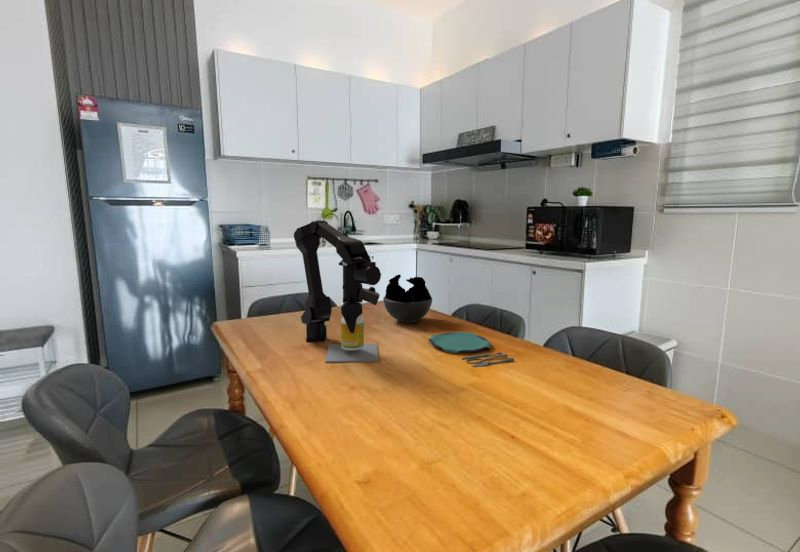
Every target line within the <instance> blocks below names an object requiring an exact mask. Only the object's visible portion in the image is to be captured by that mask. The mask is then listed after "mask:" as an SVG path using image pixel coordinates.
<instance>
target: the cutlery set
mask: <svg viewBox="0 0 800 552" xmlns="http://www.w3.org/2000/svg"><path fill="white" fill-rule="evenodd" d="M428 341H429V342H430V343H431V345H432V346H433V347H435V348H437V349H439V350H443V351H444V352H446V353H448V354H449V353H450V354H455V355H456V354H457V353H463V354H464V353H466V354H467V353H476V352H480V351H483V350H485V349H487V348H488V349H489V350H490V349H491V347H492V342H491V341H490V340H488V339H487V338H485V337H483V336H481V335H477V334H476V333H473V332H467V331H456V332H454V331H453V332H444V333H436V334H433V335H432V336H431V337H429V338H428ZM492 355H494V356H492ZM488 356H490V357H488ZM484 357H486V358H484ZM507 357H508V354H507V353H503V354H502V351H499V352H496V353H494V352H493V353H481V354H479V355H469V356H464V357H461V360H466V361H465V362H466V363H468V364H471V367H473V368H481V367H488V366H490V365H497V364H504V362H505V363H508V362H509V361H510V362H514V361H515V358H514V357H510V358H509V357H508V358H507ZM499 358H506V359H501V360H496V361H490V360H493V359H499ZM472 361H475V362H472ZM483 361H484V362H483Z"/></svg>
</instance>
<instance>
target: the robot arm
mask: <svg viewBox="0 0 800 552" xmlns="http://www.w3.org/2000/svg"><path fill="white" fill-rule="evenodd" d="M293 239H294V242H295V246H296V248H297V249H298V250H299V252H300V253H301V254H302V260H303V266H304V272H305V278H306V286H307V292H308V296H307V299H306V301H305V310H304V311H303V313H302V314H301V316H300V319H301V323H302V324H304V325H305V326H306V328H305V329H306V339H305V342H307V343H308V342H309V343H310V342H325V341H326V339H327V338H328V325H327V324H326V322H330V319H331V315H332V310H333V307H332V304H331V298H330V296H327V295H326V294H325V293H324V288H323V282H322V278H321V277H322V276H321V269H320V264H319V263H320V262H319V256H318V250H319V247H320V245H321V239H323V240H324V241H326V242H327V243H329V244H330V245H332V246H333V247H334V248H335V252H336V253H337V255H338V256H339V257H340V258H341V261H339V262H338V266H342V304H341V306H340V307H341V308H340V309H341V311H340V314H341V315H342V317H344V319H345V322H346V324H347V326H348V329H349V331H350V333H354V330H355V325H356V321H357V317H359V316H362V314H363V304H362V303H363V302H367V303H370V304H372V305H374V306H377V304H378V302H379V299H380V293H379V292H378V291H377V292H376V287H374V286H376V285H377V284H378V283H379V282H380V281H381V277H382V273H381V269H380V268H379V267H378V266H377V262H375V261H372V260H371V258H370V257H371V256H370V255H369V253H368V251H367V249H366V247H365V244H364V242H363V241H362V240H360V239H358V238H354V237H351V236H350V237H349V236H347V235H345V234H343V233H342V232H340V231H339V230H338V229H336V228H335V227H333V226H332V225H331V224H329V222H328V221H326V220H323V219H321V220H320V219H316V220H313V221H310V223H307V224H305V225H302V226H300V227H298V228H296V230H294V233H293ZM363 284H364V285H369V288H364V287H363Z"/></svg>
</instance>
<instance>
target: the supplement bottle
mask: <svg viewBox="0 0 800 552" xmlns="http://www.w3.org/2000/svg"><path fill="white" fill-rule="evenodd" d="M364 319H365V318H364V317H363V316H362V315H360V316H359V317H357V321H356V325H355V330H354V333H350V331H349V329H348V326H347V324H346V322H345V319H344V317H343V316H342V317H341V319H340V331H341V332H340V341H341V342H340V344H341V347H342V348H343V349H345V350H350V351H353V350H360V349H362V348H363V347H364V344H365V336H364V335H365V327H364V324H365V321H364Z"/></svg>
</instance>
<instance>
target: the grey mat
mask: <svg viewBox="0 0 800 552" xmlns="http://www.w3.org/2000/svg"><path fill="white" fill-rule="evenodd" d="M378 349H379V348H378V344H377V343H364V347H363V348H362V349H360V350H353V351H350V350H345V349H343V348H342V347H341V343H340V344H339V343H338V344H336V343H335V344H328V348H327V352H326V356H325V361H324V362H325V364H329V363H331V364H332V363H333V364H334V362H335V363H371V362H380V357H379V350H378Z"/></svg>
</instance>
